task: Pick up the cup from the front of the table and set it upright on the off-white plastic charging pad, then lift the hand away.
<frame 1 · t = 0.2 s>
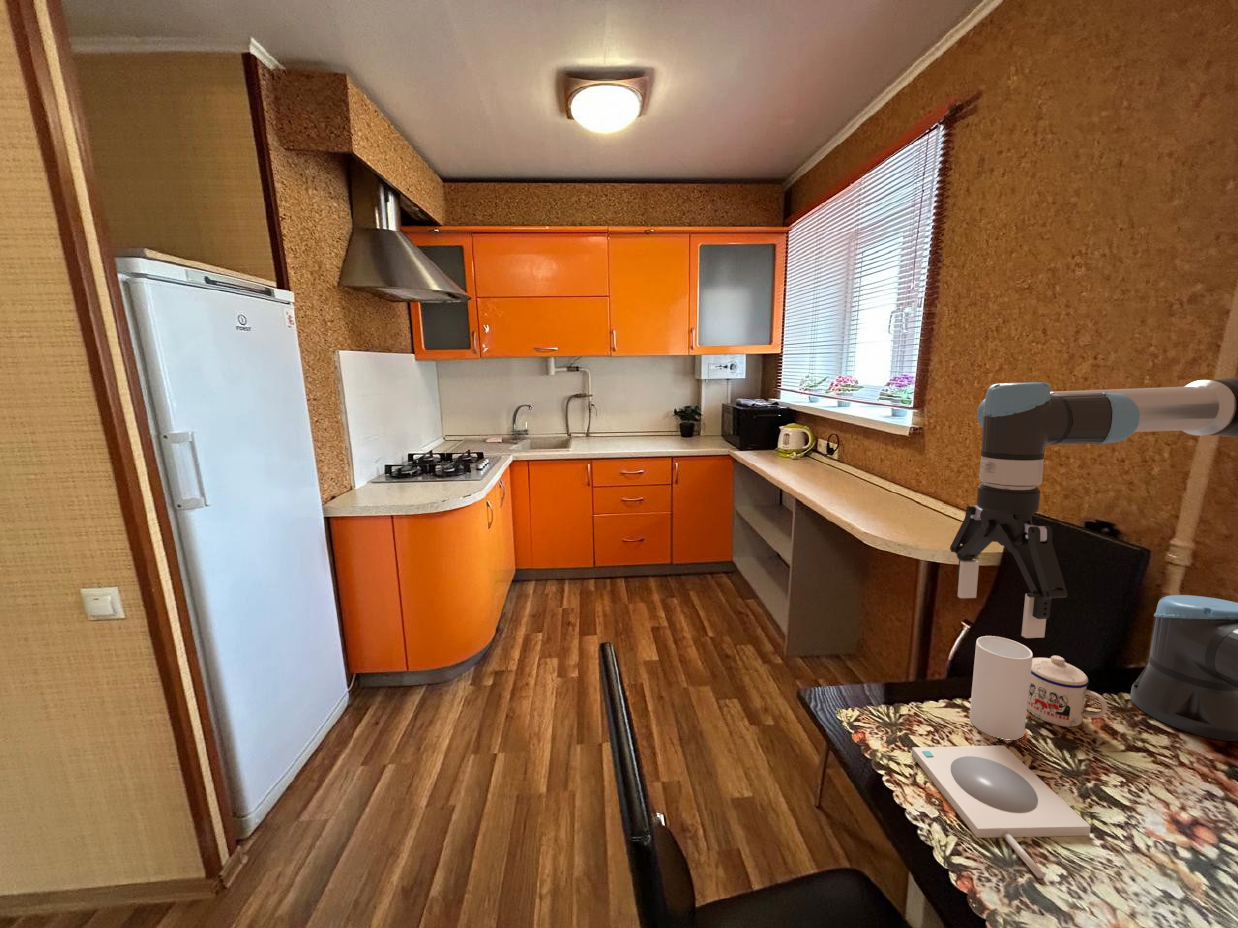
hand: (996, 615, 78), 28 cm above the table, tool pointing down, fingers open, 13 cm apart
teacup with lid: (1061, 717, 95), on the table
cup: (995, 726, 93), on the table
charging pad: (991, 791, 78), on the table
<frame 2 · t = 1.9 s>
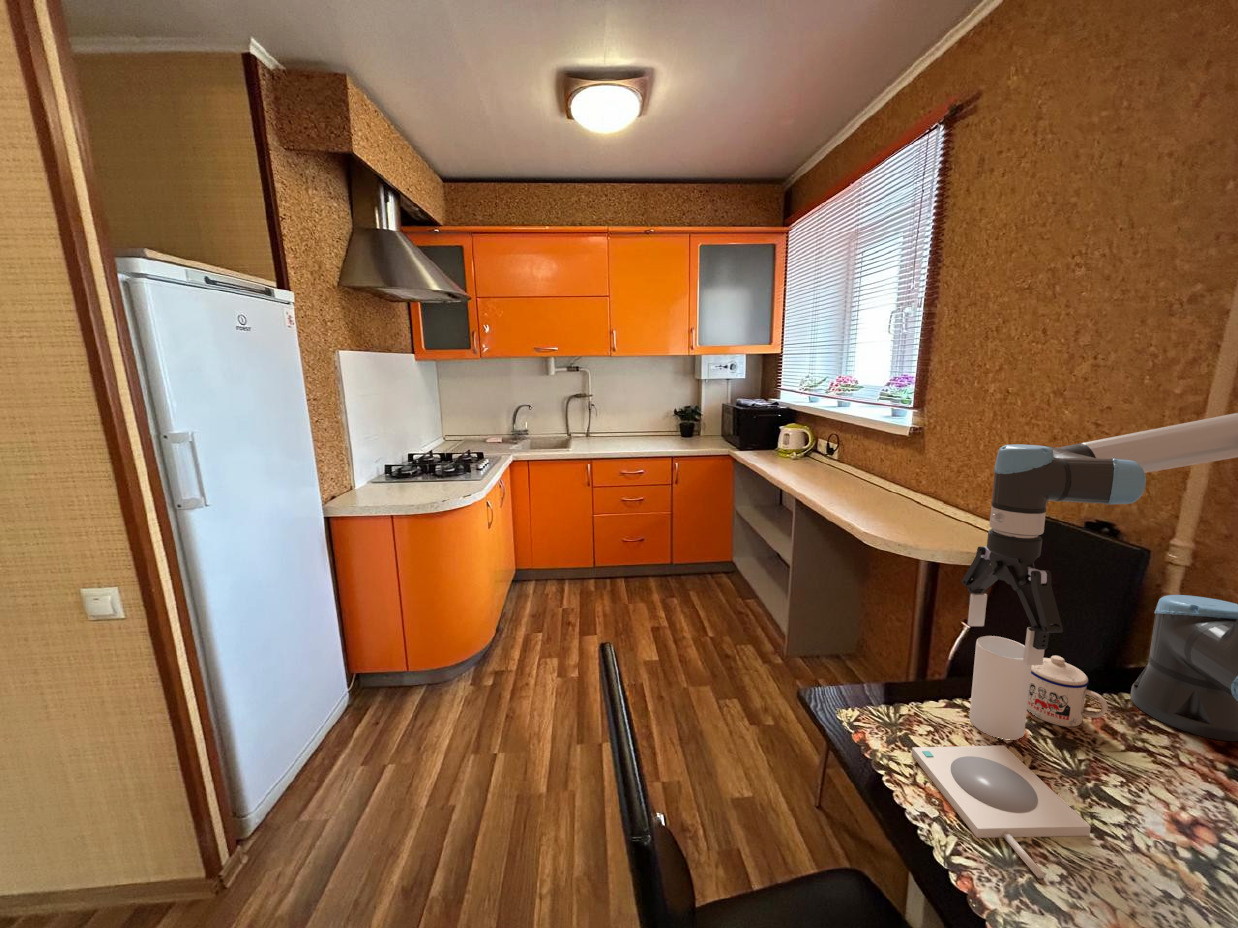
hand: (1002, 643, 90), 17 cm above the table, tool pointing down, fingers open, 13 cm apart
nothing on the table moved.
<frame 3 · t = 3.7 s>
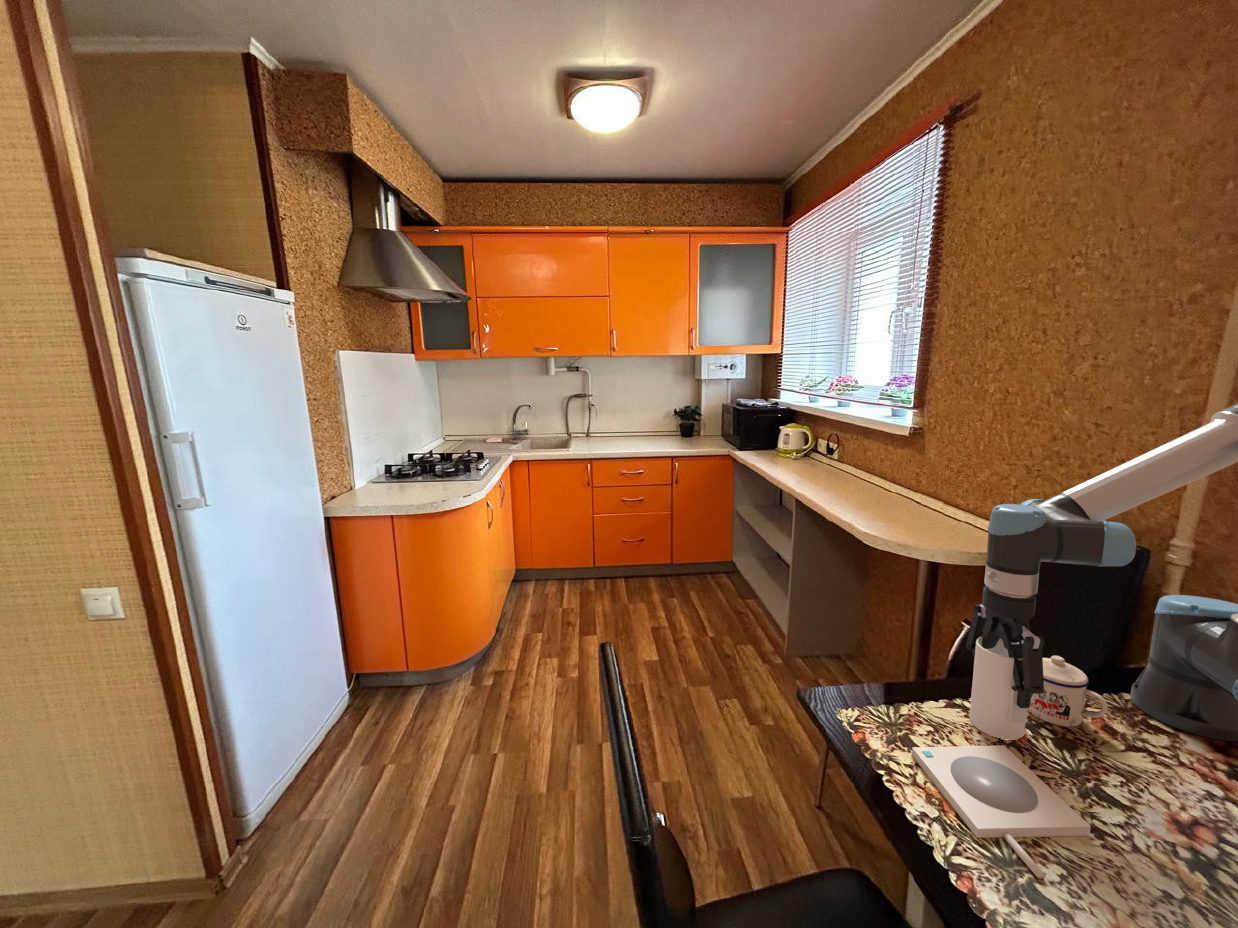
hand: (998, 704, 92), 4 cm above the table, tool pointing down, fingers closed on cup, 8 cm apart
cup: (995, 726, 93), on the table, touching gripper
everything else where it was.
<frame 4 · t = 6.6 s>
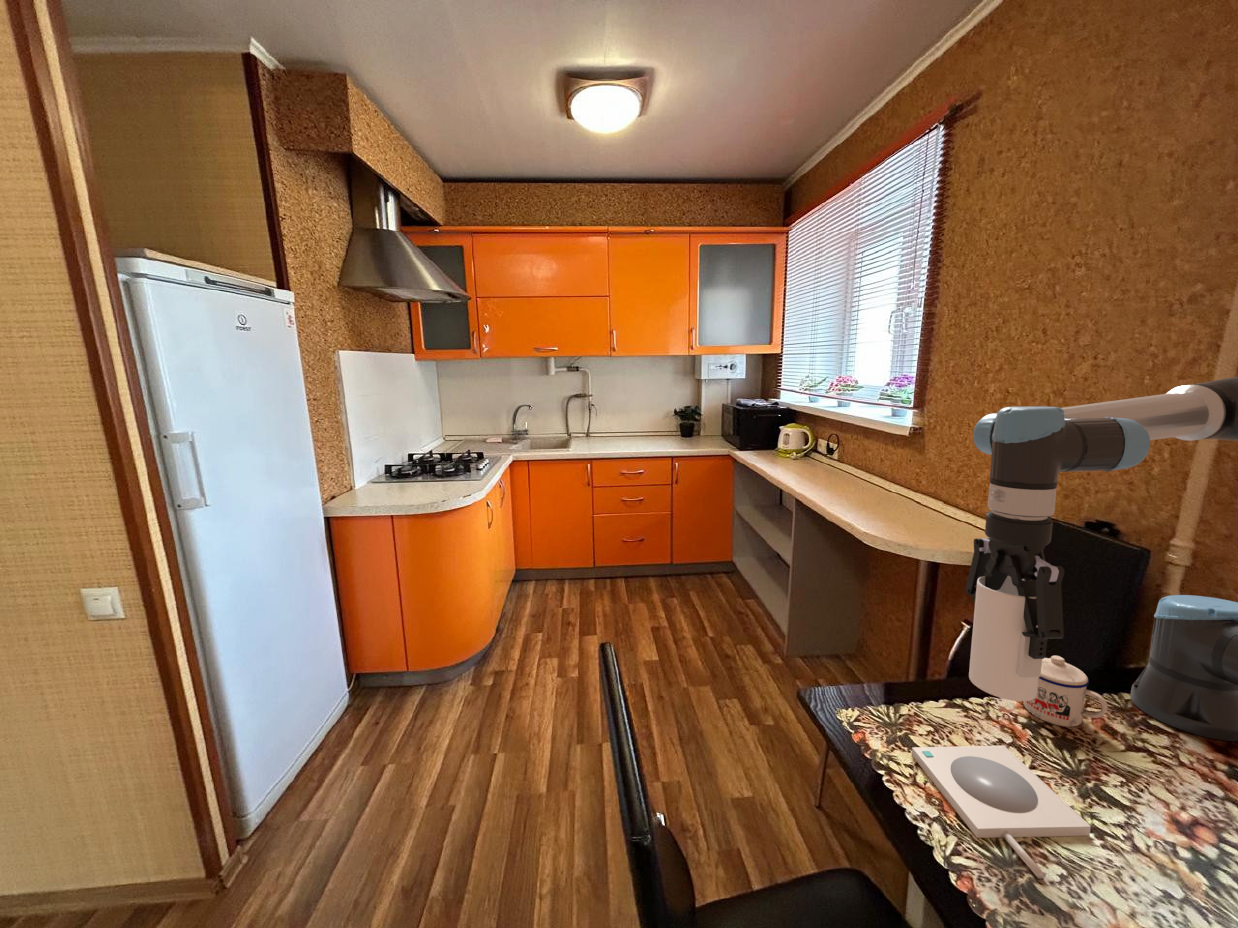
hand: (1004, 658, 74), 23 cm above the table, tool pointing down, fingers closed on cup, 8 cm apart
cup: (1001, 685, 75), point 18 cm above the table, touching gripper
everything else where it was.
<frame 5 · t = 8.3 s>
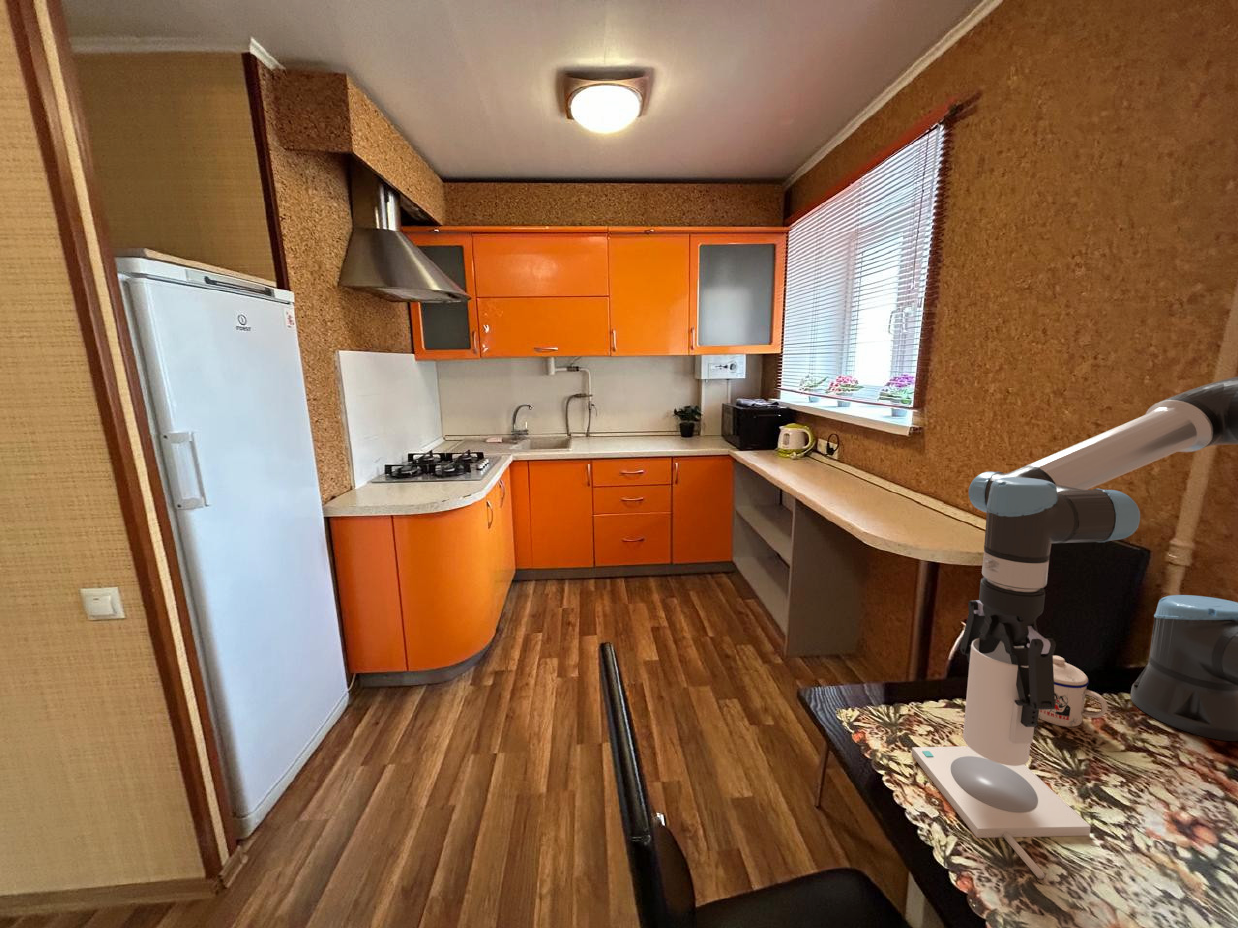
hand: (997, 720, 76), 12 cm above the table, tool pointing down, fingers closed on cup, 8 cm apart
cup: (994, 747, 77), point 8 cm above the table, touching gripper
everything else where it was.
when the fingers open (7 cm above the table, at t = 9.8 s): cup drops 1 cm, resting on charging pad.
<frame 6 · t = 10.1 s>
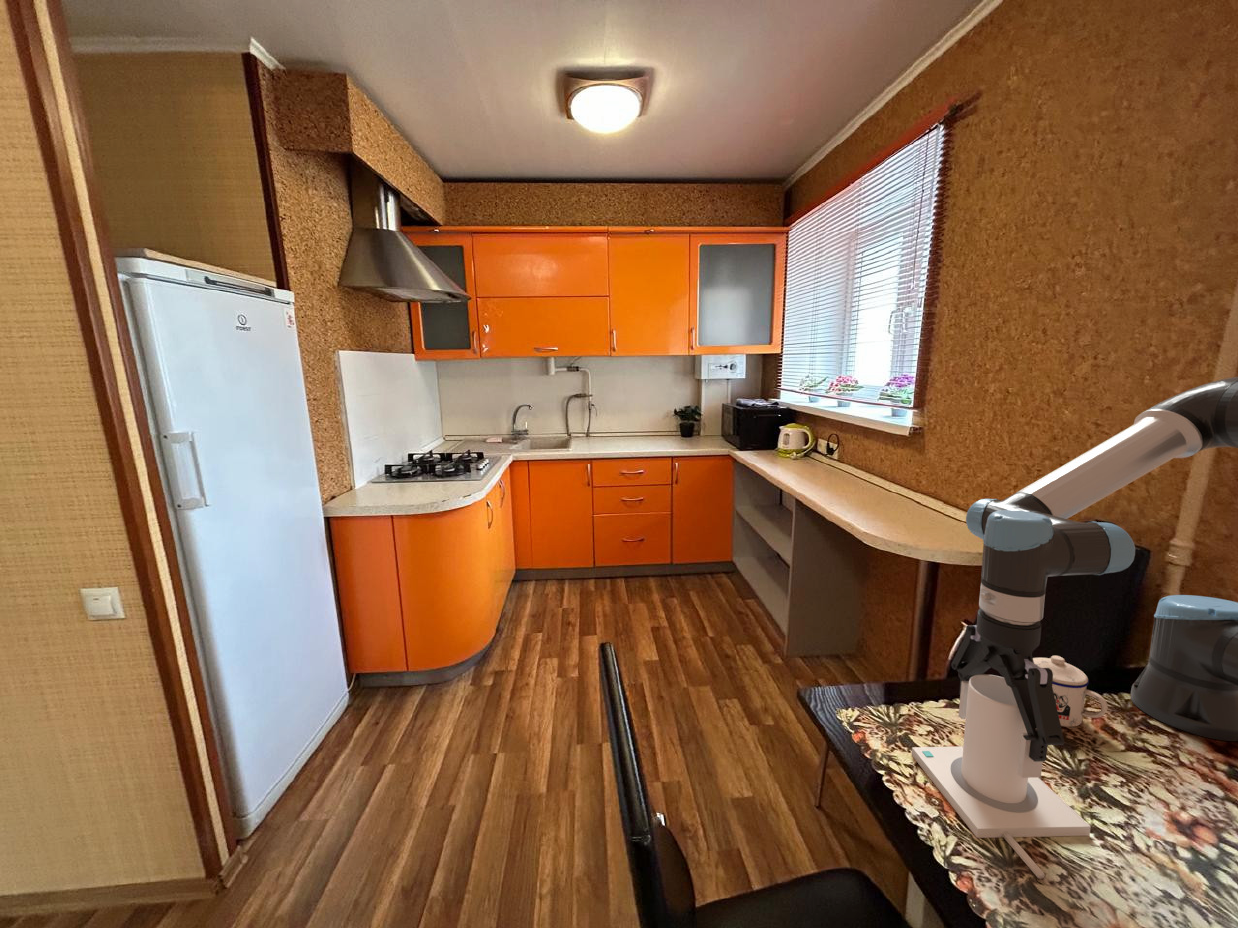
hand: (996, 744, 77), 8 cm above the table, tool pointing down, fingers open, 12 cm apart
cup: (992, 782, 78), point 1 cm above the table, touching charging pad
everything else where it was.
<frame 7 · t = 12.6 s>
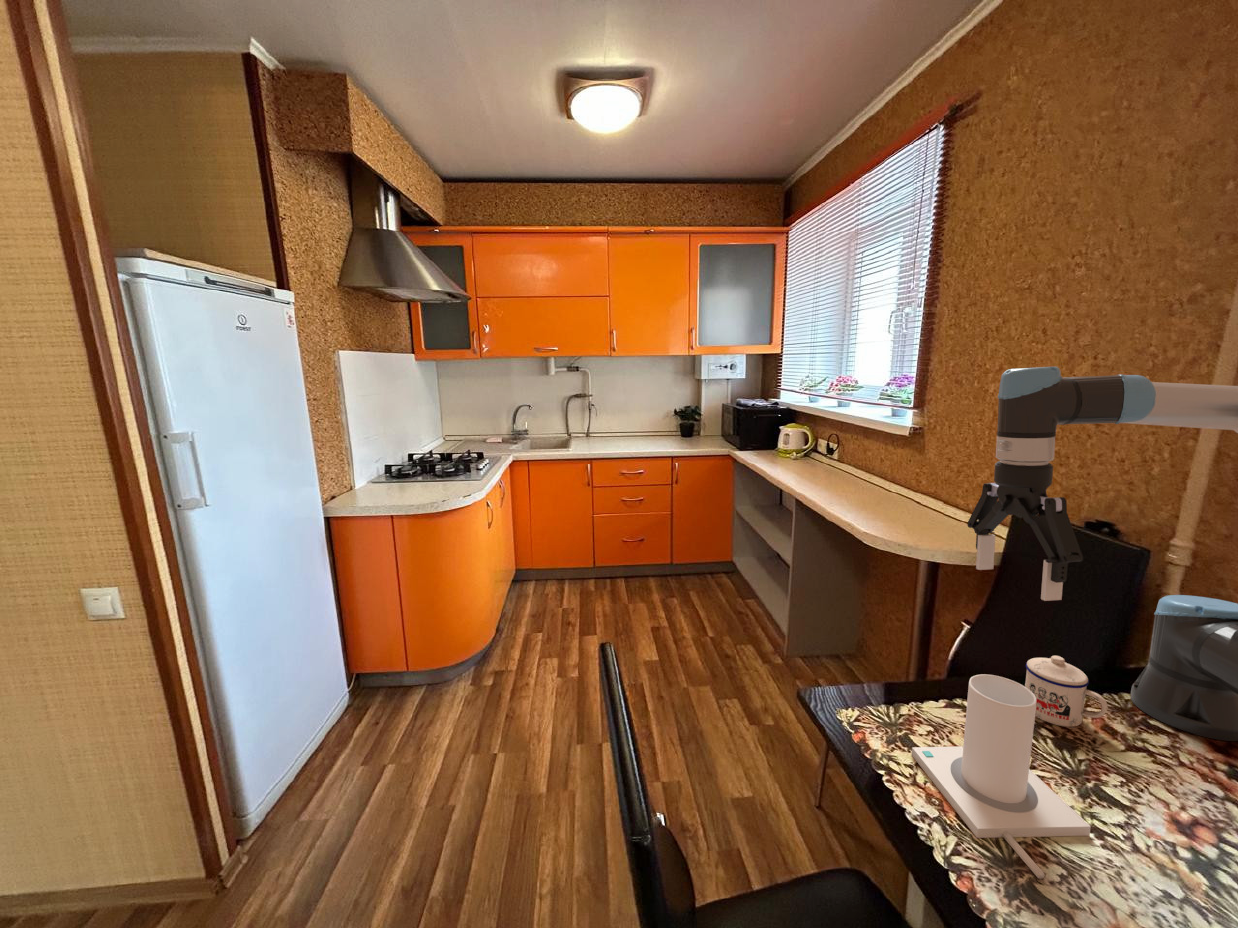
hand: (1015, 583, 85), 30 cm above the table, tool pointing down, fingers open, 13 cm apart
nothing on the table moved.
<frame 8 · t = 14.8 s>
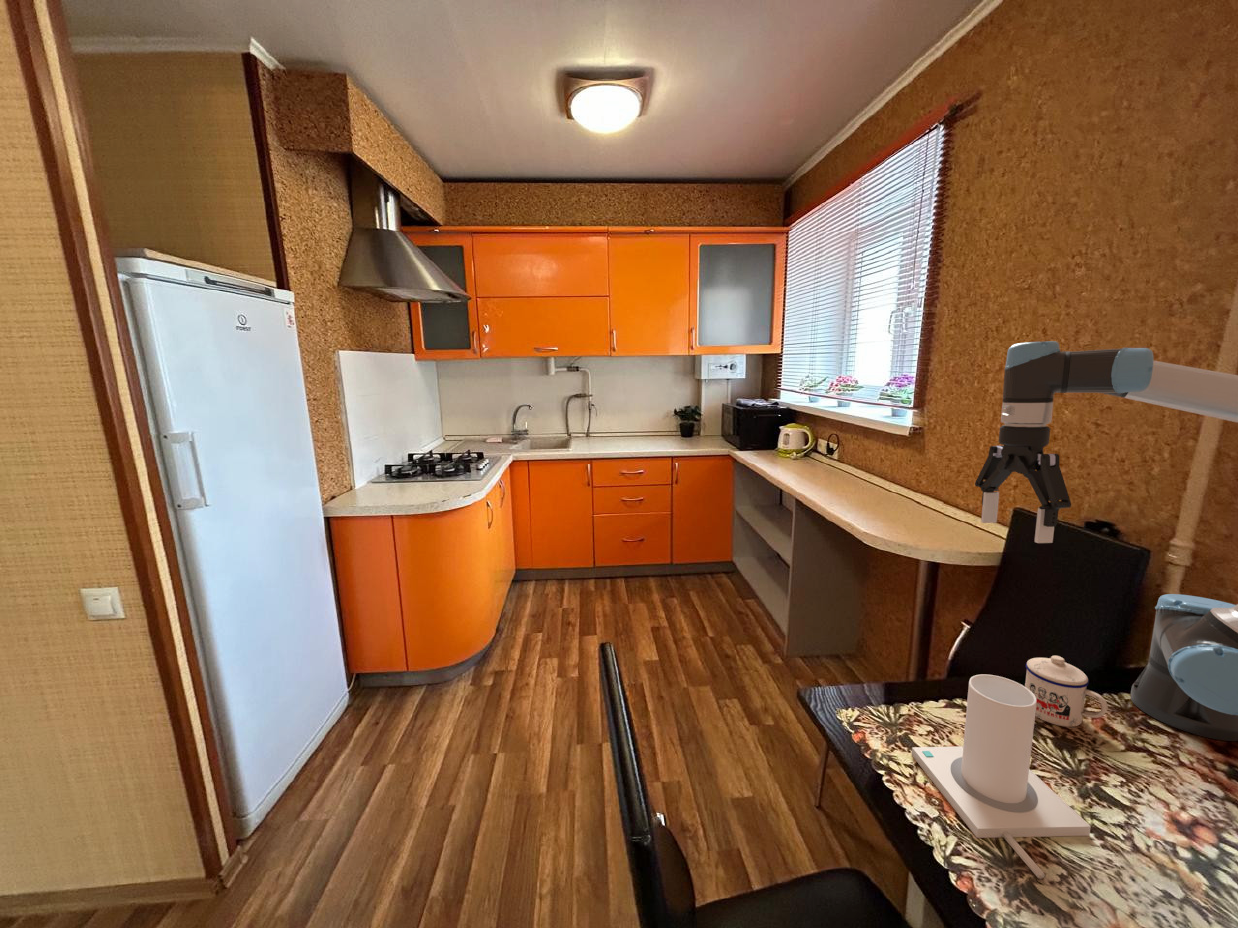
hand: (1014, 531, 97), 35 cm above the table, tool pointing down, fingers open, 13 cm apart
nothing on the table moved.
at the end: cup inside the target area on the charging pad (0.0 cm from its centre), point 1.5 cm above the charging pad's base; cup tilted 0°; the gripper is holding nothing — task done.
